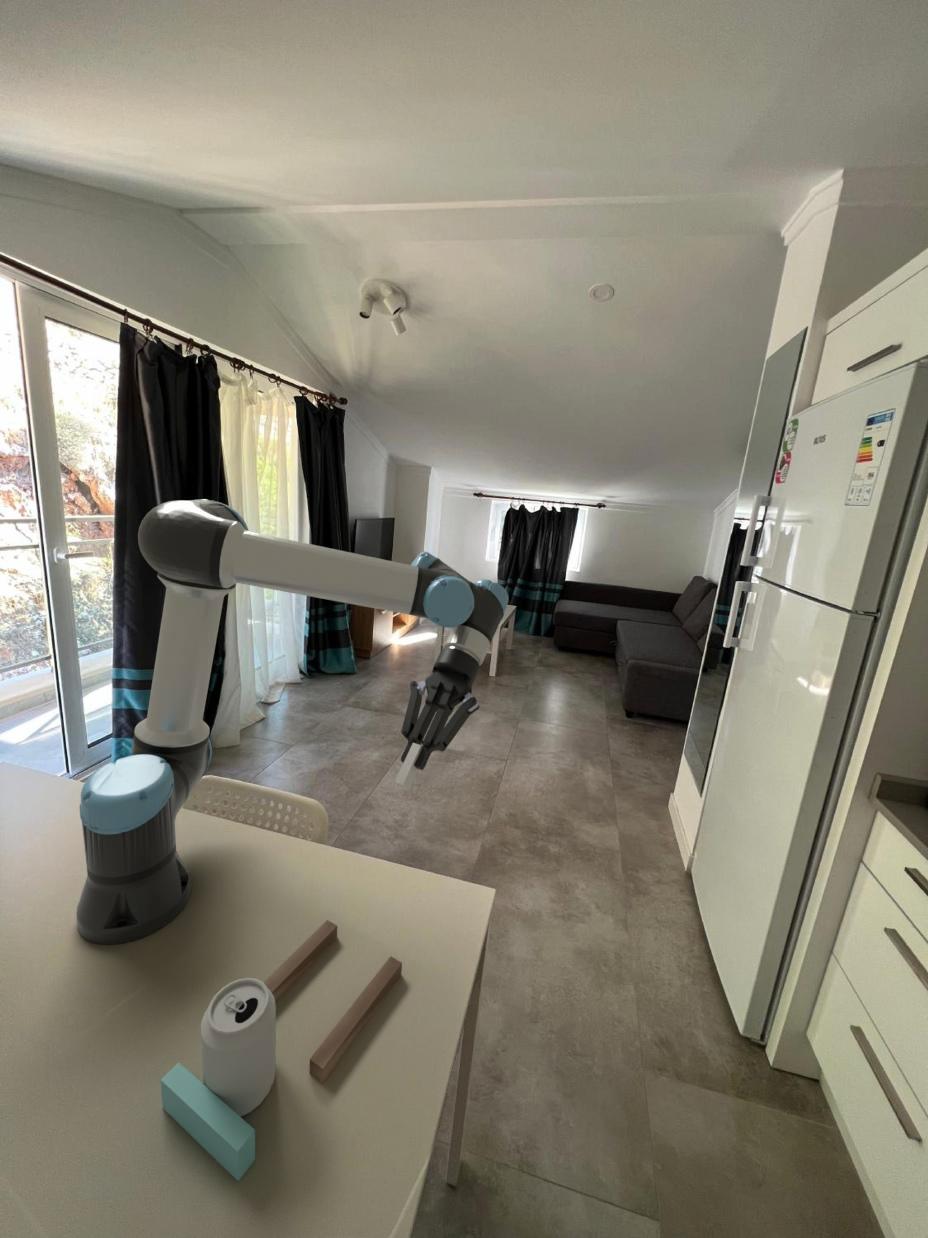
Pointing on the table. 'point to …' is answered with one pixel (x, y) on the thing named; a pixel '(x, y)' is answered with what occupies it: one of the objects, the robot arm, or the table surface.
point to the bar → (208, 1120)
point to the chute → (358, 1011)
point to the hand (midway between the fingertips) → (402, 785)
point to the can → (240, 1044)
